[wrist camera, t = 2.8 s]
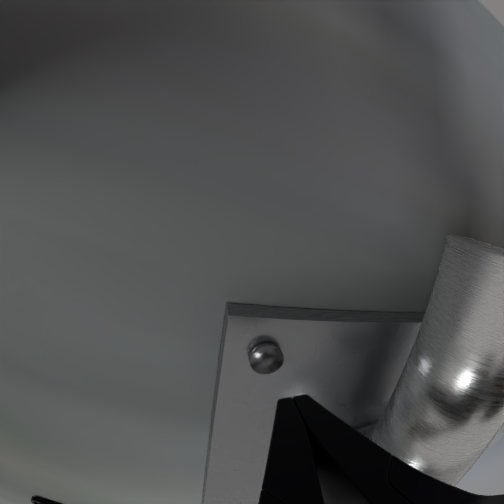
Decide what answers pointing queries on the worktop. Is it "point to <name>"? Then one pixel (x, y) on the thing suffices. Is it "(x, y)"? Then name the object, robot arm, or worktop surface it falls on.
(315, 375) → the flange
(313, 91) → the worktop surface
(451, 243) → the collar
